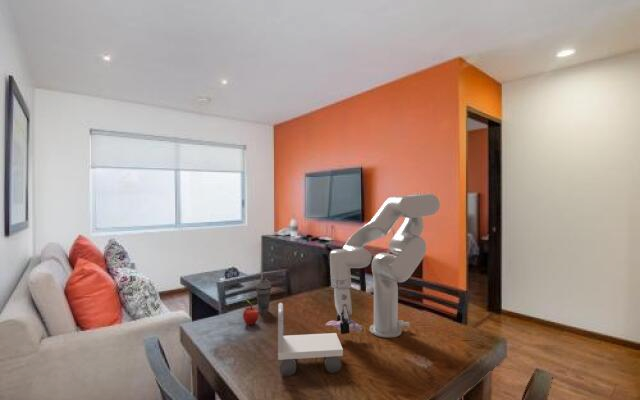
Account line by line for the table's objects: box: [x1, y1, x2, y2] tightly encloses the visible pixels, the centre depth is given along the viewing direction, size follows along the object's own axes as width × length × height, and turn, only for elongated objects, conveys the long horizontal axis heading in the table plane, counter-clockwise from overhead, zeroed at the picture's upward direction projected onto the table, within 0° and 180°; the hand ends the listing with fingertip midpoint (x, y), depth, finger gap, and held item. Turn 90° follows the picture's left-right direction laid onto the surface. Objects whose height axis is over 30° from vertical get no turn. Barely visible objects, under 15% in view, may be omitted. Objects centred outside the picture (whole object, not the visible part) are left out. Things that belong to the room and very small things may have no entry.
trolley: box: [277, 302, 344, 377], centre depth 103 cm, size 20×13×18 cm, turn 97°
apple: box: [242, 299, 260, 326], centre depth 135 cm, size 8×7×10 cm
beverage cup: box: [255, 269, 272, 314], centre depth 149 cm, size 7×7×20 cm
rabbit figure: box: [325, 316, 366, 334], centre depth 120 cm, size 6×6×15 cm
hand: (343, 329), depth 120 cm, fingers closed on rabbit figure, 5 cm apart
